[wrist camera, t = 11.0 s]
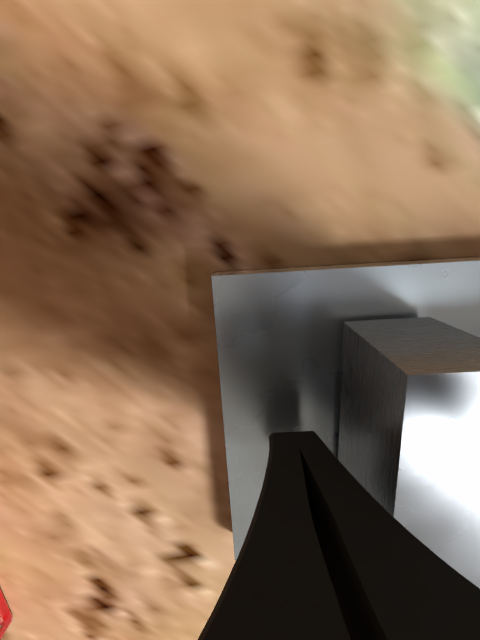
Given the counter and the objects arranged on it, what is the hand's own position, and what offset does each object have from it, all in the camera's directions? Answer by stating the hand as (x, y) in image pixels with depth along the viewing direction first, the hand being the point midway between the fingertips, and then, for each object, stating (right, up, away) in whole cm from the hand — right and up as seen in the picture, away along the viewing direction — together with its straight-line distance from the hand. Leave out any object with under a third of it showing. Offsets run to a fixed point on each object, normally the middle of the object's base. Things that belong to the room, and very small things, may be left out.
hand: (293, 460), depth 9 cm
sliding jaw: (+3, 0, +1) cm, 3 cm away
